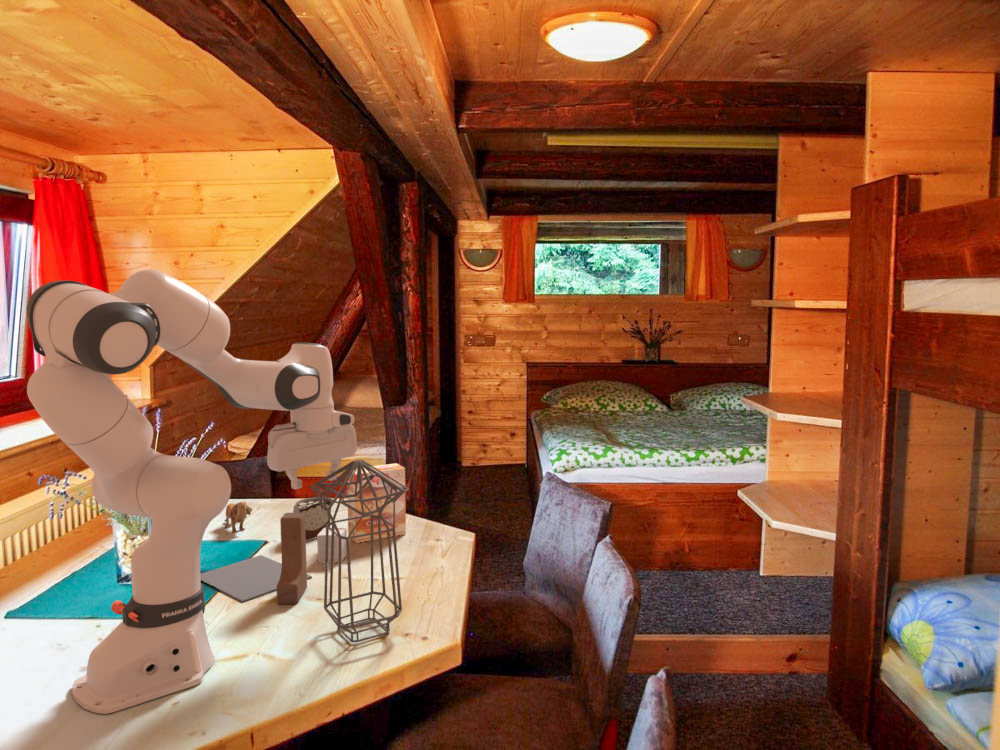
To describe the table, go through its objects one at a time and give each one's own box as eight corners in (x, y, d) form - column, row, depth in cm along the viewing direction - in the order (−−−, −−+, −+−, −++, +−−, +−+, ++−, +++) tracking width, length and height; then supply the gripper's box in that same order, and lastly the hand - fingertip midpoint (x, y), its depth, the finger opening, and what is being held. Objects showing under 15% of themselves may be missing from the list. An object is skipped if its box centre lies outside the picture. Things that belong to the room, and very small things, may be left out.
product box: (347, 554, 184) (347, 527, 184) (341, 563, 178) (340, 535, 178) (324, 554, 185) (324, 527, 184) (317, 563, 179) (316, 534, 178)
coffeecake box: (355, 544, 193) (354, 473, 190) (347, 536, 199) (345, 468, 197) (406, 534, 200) (405, 467, 198) (397, 527, 206) (396, 462, 204)
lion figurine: (255, 532, 203) (254, 501, 202) (237, 536, 199) (236, 505, 198) (233, 520, 213) (231, 491, 212) (215, 524, 209) (214, 495, 208)
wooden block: (297, 604, 154) (294, 524, 152) (276, 604, 154) (273, 524, 152) (307, 587, 163) (305, 511, 161) (287, 588, 163) (285, 512, 161)
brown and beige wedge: (319, 527, 206) (318, 494, 205) (333, 531, 203) (332, 497, 202) (284, 539, 197) (283, 504, 196) (298, 543, 193) (297, 507, 192)
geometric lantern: (414, 637, 139) (412, 462, 136) (337, 658, 131) (332, 473, 127) (383, 608, 153) (380, 448, 149) (311, 625, 144) (306, 457, 140)
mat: (242, 602, 155) (242, 600, 155) (193, 577, 169) (193, 575, 169) (311, 577, 169) (311, 576, 169) (261, 556, 183) (261, 555, 183)
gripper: (277, 428, 138) (279, 497, 140) (360, 415, 154) (361, 477, 155) (259, 424, 142) (262, 491, 144) (342, 412, 158) (344, 472, 159)
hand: (314, 484), depth 150 cm, fingers open, 7 cm apart
